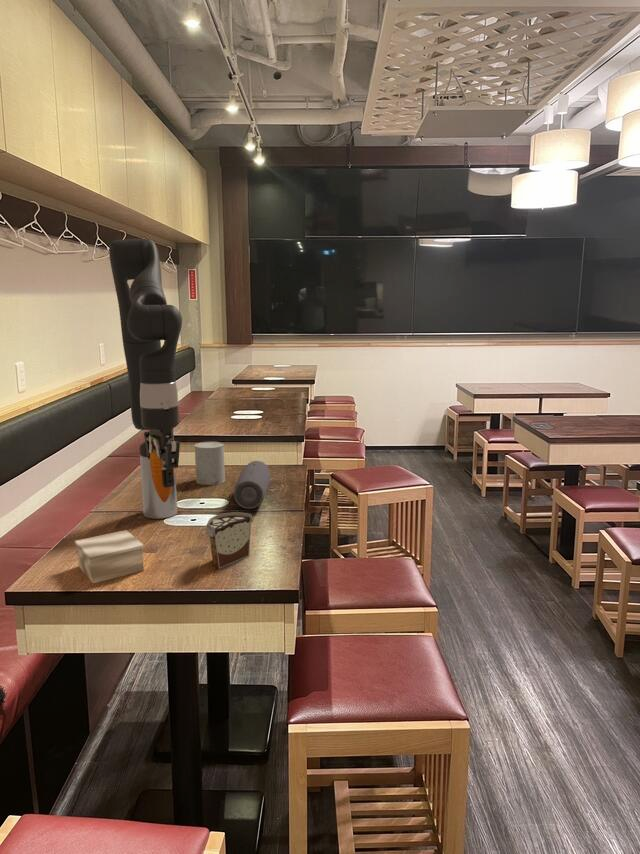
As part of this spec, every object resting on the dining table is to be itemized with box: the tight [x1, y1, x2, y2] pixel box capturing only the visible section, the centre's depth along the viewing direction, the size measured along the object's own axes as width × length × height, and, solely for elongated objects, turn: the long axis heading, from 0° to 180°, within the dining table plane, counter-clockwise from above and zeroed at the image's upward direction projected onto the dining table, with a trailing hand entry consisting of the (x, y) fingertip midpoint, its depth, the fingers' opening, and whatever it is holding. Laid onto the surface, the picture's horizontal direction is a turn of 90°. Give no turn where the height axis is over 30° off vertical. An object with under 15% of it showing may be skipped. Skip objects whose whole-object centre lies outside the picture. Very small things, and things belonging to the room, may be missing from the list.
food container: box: [205, 511, 254, 570], centre depth 145 cm, size 12×6×10 cm, turn 141°
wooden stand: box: [74, 529, 145, 584], centre depth 140 cm, size 12×12×6 cm
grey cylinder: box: [194, 441, 226, 486], centre depth 208 cm, size 10×10×12 cm
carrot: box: [150, 437, 174, 502], centre depth 133 cm, size 5×5×15 cm
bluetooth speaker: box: [233, 460, 271, 510], centre depth 187 cm, size 23×9×10 cm, turn 0°
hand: (163, 483), depth 133 cm, fingers closed on carrot, 4 cm apart
